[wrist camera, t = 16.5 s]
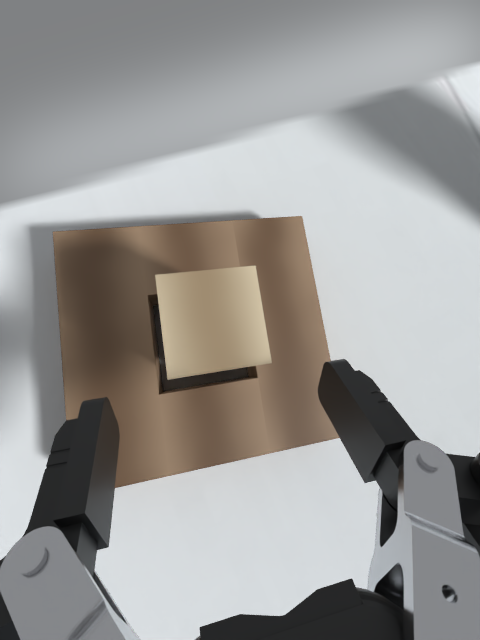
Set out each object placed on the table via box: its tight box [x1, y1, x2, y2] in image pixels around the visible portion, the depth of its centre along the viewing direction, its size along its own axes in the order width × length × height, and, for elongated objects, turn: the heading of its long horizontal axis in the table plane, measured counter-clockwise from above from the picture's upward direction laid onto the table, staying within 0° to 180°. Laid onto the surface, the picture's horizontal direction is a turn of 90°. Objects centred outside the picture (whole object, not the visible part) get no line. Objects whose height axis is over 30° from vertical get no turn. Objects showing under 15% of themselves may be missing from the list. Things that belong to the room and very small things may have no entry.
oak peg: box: [155, 266, 272, 380], centre depth 16 cm, size 4×4×10 cm
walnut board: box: [53, 216, 340, 488], centre depth 20 cm, size 16×15×3 cm
